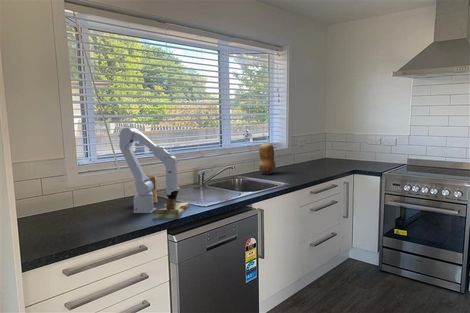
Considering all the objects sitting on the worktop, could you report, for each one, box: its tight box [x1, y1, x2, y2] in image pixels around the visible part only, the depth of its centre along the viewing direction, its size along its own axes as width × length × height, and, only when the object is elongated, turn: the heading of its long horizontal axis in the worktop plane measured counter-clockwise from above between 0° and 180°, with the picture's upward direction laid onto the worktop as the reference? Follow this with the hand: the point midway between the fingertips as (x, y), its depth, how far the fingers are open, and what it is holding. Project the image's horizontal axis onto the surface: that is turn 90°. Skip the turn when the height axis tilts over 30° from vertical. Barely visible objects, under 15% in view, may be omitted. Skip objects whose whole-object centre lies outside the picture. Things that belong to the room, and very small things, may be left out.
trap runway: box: [153, 202, 190, 219], centre depth 177 cm, size 12×22×4 cm, turn 175°
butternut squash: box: [258, 142, 276, 175], centre depth 280 cm, size 14×13×25 cm
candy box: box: [146, 175, 158, 204], centre depth 197 cm, size 9×4×15 cm, turn 96°
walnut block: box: [165, 198, 177, 210], centre depth 175 cm, size 4×4×4 cm
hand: (172, 205), depth 179 cm, fingers closed
